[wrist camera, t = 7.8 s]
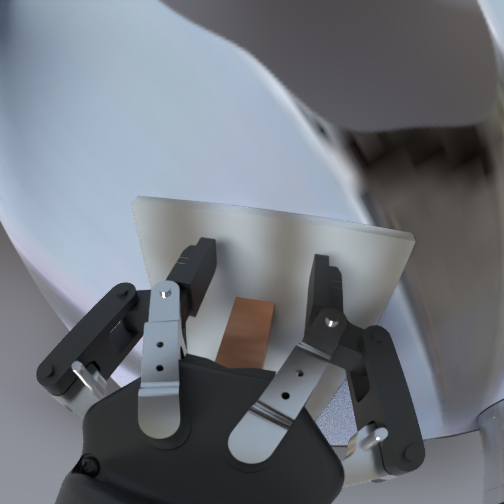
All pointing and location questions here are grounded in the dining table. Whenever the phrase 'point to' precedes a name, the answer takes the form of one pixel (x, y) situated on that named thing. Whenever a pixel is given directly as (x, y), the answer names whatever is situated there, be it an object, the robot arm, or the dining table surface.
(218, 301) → the lane rack
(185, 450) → the robot arm
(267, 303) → the rod-linked blocks
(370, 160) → the dining table surface
